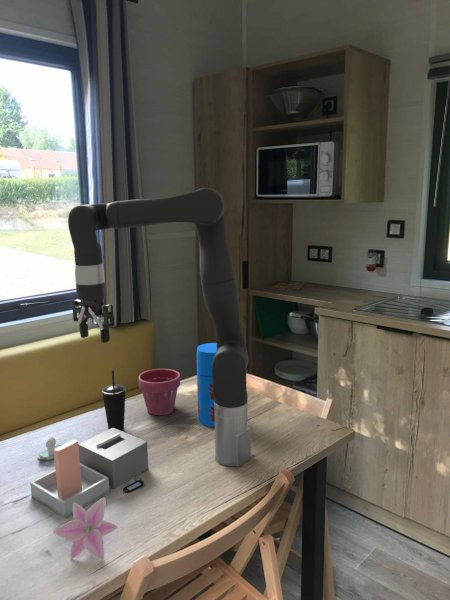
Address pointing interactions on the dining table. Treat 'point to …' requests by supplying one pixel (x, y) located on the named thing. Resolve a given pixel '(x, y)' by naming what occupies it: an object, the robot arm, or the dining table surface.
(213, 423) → the thermos
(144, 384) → the plant pot
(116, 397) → the drinking cup
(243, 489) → the dining table surface
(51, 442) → the pacifier
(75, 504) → the lily
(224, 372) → the robot arm
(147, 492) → the dining table surface
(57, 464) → the tall pink plank
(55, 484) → the bin
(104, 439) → the dispenser
